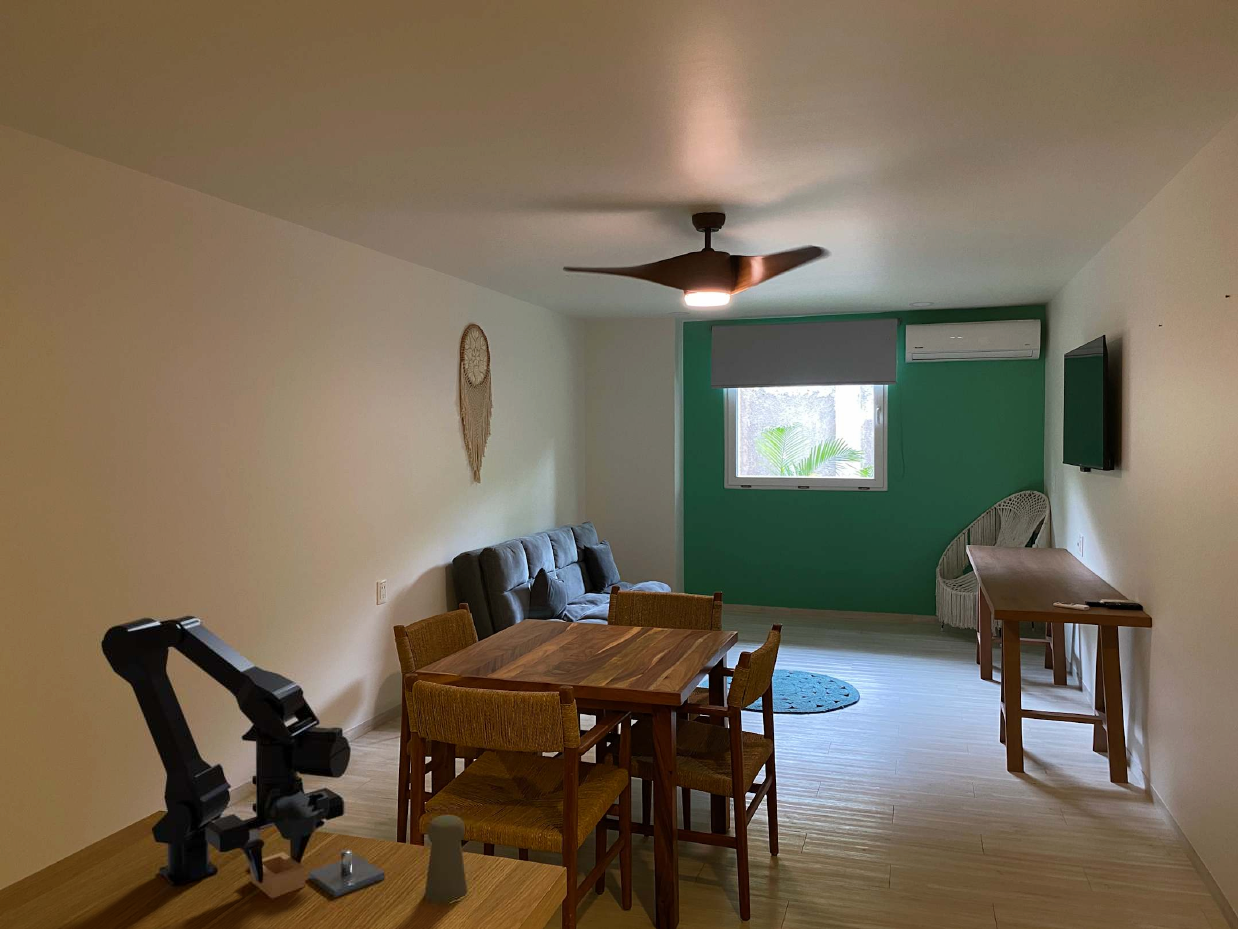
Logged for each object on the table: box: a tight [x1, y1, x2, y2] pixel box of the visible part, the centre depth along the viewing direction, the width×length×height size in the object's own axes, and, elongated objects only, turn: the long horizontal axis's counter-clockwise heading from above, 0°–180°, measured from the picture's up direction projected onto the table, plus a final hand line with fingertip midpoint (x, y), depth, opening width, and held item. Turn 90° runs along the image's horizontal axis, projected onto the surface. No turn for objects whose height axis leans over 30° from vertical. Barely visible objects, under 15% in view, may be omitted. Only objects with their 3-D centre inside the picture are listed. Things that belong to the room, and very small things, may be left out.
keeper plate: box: [307, 849, 386, 898], centre depth 139 cm, size 8×8×4 cm
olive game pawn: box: [424, 814, 468, 905], centre depth 134 cm, size 6×6×11 cm
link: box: [250, 851, 306, 899], centre depth 137 cm, size 7×5×3 cm
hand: (277, 875), depth 137 cm, fingers closed on link, 5 cm apart
